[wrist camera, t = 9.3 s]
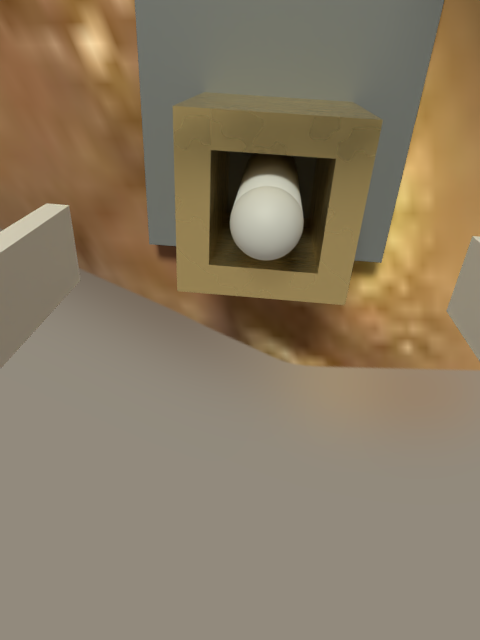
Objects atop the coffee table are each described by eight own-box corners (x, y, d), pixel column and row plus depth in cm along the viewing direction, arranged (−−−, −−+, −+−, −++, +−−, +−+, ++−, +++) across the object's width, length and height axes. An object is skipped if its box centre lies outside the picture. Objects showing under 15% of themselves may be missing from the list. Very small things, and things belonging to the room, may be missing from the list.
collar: (352, 101, 23) (382, 119, 16) (329, 243, 27) (344, 305, 20) (204, 92, 23) (172, 105, 17) (203, 233, 28) (177, 291, 21)
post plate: (494, -255, 17) (797, -700, 7) (376, 253, 29) (429, 360, 19) (128, -266, 18) (-70, -688, 8) (155, 236, 30) (88, 329, 19)
